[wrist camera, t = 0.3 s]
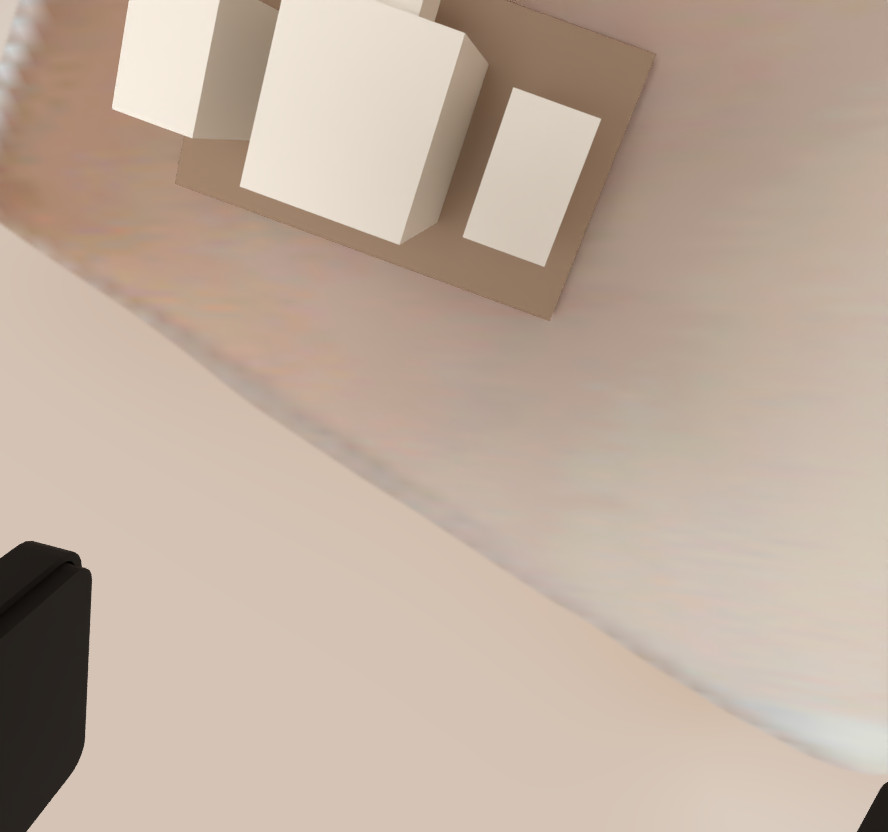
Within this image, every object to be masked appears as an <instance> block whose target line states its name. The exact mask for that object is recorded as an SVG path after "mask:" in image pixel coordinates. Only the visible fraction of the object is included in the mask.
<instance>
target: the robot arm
mask: <svg viewBox="0 0 888 832" xmlns="http://www.w3.org/2000/svg"><path fill="white" fill-rule="evenodd" d="M91 589H92V576H91V573H90V570H88V569H86V568H83V567H82V565H81V559H80V557H79V555H78V554H76V553H75V552H72V551H68V550H64V549H61V548H57V547H53V546H49V545H46V544H42V543H38V542H34V541H26V542H24V543H22V544H20V545H18V546H17V547H15V548H14V549H12V550H11V551H10V552H8V553H7V554H6V555H4V556H3V557H2V558H0V832H26V831H27V830H28V829H29V827H30V826H31V825H32V824H33V822H34V821H35V820H36V819H37V817H38V816H39V815H40V813H41V812H42V811H43V810H44V808H45V807H46V806H47V804H48V803H49V802H50V801H51V799H52V798H53V797H54V795H55V794H56V793H57V792H58V790H59V789H60V788H61V786H62V785H63V784H64V783H65V781H66V780H67V779H68V777H69V776H70V775H71V773H72V772H73V770H74V769H75V767H76V765H77V763H78V761H79V759H80V756H81V754H82V751H83V747H84V742H85V724H86V702H87V679H88V656H89V634H90V609H91ZM857 832H888V782H887V783H885V784H884V785H883V786H882V788H881V789H880V791H879V793H878V794H877V796H876V798H875V800H874V802H873V804H872V805H871V807H870V809H869V811H868V813H867V815H866V816H865V818H864V820H863V822H862V824H861V826H860V828H859V829H858V831H857Z"/></svg>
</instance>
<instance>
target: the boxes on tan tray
mask: <svg viewBox="0 0 888 832" xmlns="http://www.w3.org/2000/svg"><path fill="white" fill-rule="evenodd" d="M655 56H656V54H654V53H651V52H649V51H646V50H643V49H640V48H637V47H635V46H632V45H629V44H626V43H623V42H621V41H618V40H615V39H612V38H610V37H607V36H604V35H601V34H598V33H596V32H593V31H590V30H587V29H584V28H582V27H579V26H576V25H573V24H571V23H568V22H565V21H562V20H559V19H557V18H554V17H551V16H548V15H545V14H543V13H540V12H537V11H534V10H532V9H529V8H526V7H523V6H520V5H518V4H515V3H512V2H509V1H507V0H129V4H128V10H127V17H126V23H125V29H124V36H123V42H122V48H121V55H120V61H119V67H118V74H117V80H116V86H115V93H114V99H113V105H112V109H113V110H116V111H119V112H122V113H124V114H127V115H130V116H133V117H135V118H138V119H141V120H143V121H146V122H149V123H152V124H154V125H157V126H160V127H163V128H165V129H168V130H171V131H174V132H176V133H179V134H182V135H184V139H183V144H182V149H181V155H180V160H179V165H178V170H177V175H176V180H175V184H177V185H180V186H183V187H186V188H188V189H191V190H194V191H196V192H199V193H202V194H205V195H207V196H210V197H213V198H216V199H218V200H221V201H224V202H226V203H229V204H232V205H235V206H237V207H240V208H243V209H246V210H248V211H251V212H254V213H256V214H259V215H262V216H265V217H267V218H270V219H273V220H276V221H278V222H281V223H284V224H286V225H289V226H292V227H295V228H297V229H300V230H303V231H306V232H308V233H311V234H314V235H316V236H319V237H322V238H325V239H327V240H330V241H333V242H336V243H338V244H341V245H344V246H346V247H349V248H352V249H355V250H357V251H360V252H363V253H366V254H368V255H371V256H374V257H376V258H379V259H382V260H385V261H387V262H390V263H393V264H396V265H398V266H401V267H404V268H406V269H409V270H412V271H415V272H417V273H420V274H423V275H426V276H428V277H431V278H434V279H436V280H439V281H442V282H445V283H447V284H450V285H453V286H455V287H458V288H461V289H464V290H466V291H469V292H472V293H475V294H477V295H480V296H483V297H485V298H488V299H491V300H494V301H496V302H499V303H502V304H505V305H507V306H510V307H513V308H515V309H518V310H521V311H524V312H526V313H529V314H532V315H535V316H537V317H540V318H543V319H545V320H548V321H550V319H551V317H552V314H553V312H554V309H555V307H556V304H557V302H558V299H559V297H560V294H561V292H562V289H563V287H564V284H565V282H566V279H567V277H568V274H569V272H570V269H571V267H572V264H573V262H574V259H575V257H576V254H577V251H578V249H579V246H580V244H581V241H582V239H583V236H584V234H585V231H586V229H587V226H588V224H589V221H590V219H591V216H592V214H593V211H594V209H595V206H596V204H597V201H598V199H599V196H600V194H601V191H602V189H603V186H604V184H605V181H606V179H607V176H608V174H609V171H610V169H611V166H612V164H613V161H614V159H615V156H616V154H617V151H618V149H619V146H620V144H621V141H622V139H623V136H624V134H625V131H626V129H627V126H628V124H629V121H630V119H631V116H632V114H633V111H634V109H635V106H636V104H637V101H638V99H639V96H640V94H641V91H642V89H643V86H644V84H645V81H646V79H647V76H648V74H649V71H650V69H651V66H652V64H653V61H654V59H655Z"/></svg>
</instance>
